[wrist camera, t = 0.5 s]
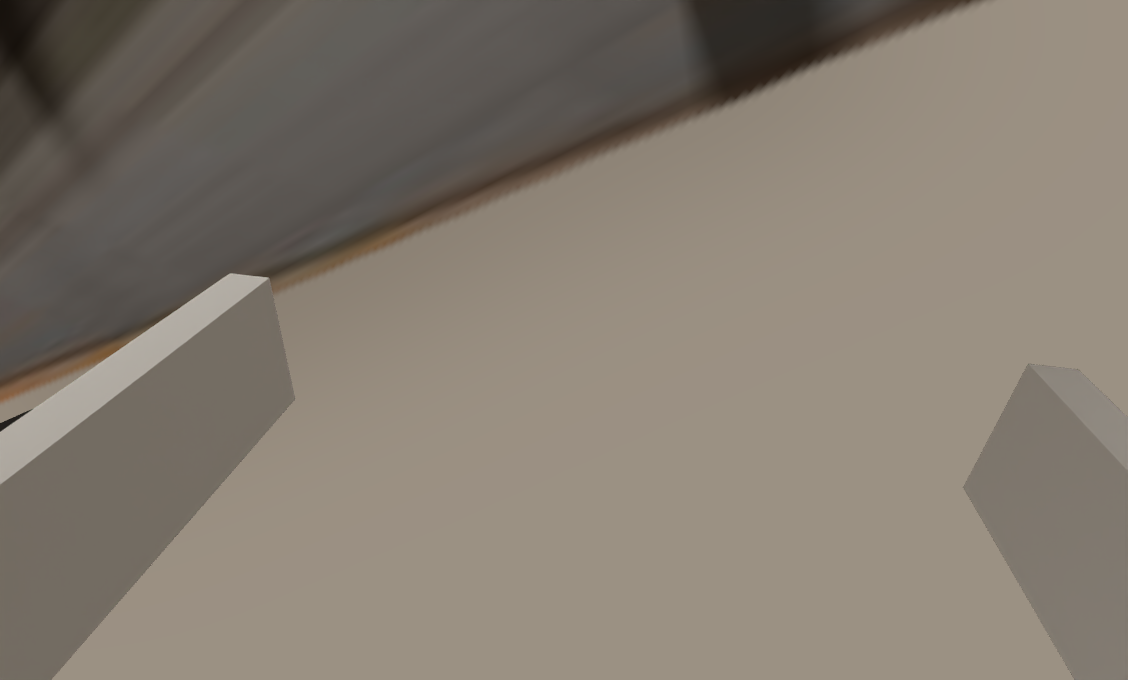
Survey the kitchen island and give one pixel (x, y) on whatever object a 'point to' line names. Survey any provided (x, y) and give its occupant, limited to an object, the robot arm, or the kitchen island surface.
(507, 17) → the kitchen island surface
